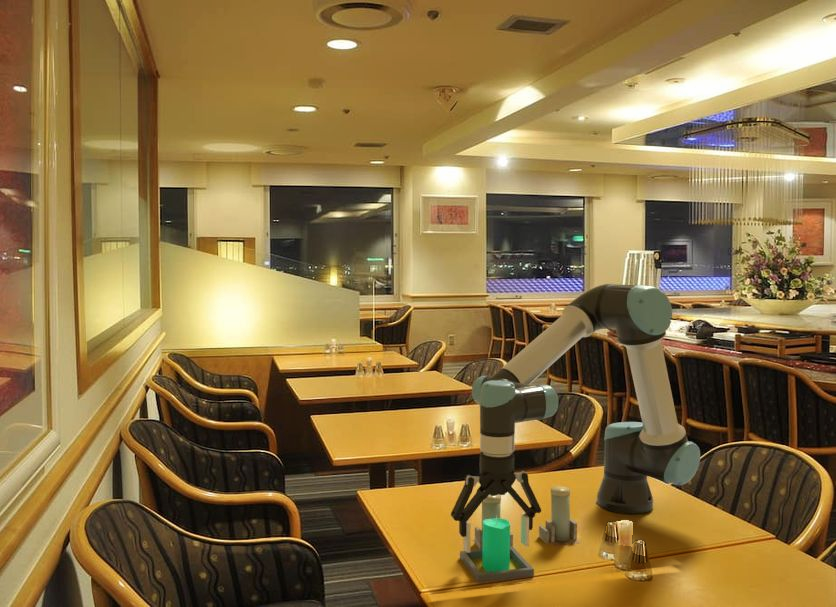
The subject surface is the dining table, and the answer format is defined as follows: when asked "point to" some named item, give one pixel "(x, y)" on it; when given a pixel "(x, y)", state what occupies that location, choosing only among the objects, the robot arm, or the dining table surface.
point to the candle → (496, 545)
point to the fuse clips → (544, 534)
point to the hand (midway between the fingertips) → (496, 547)
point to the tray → (497, 575)
